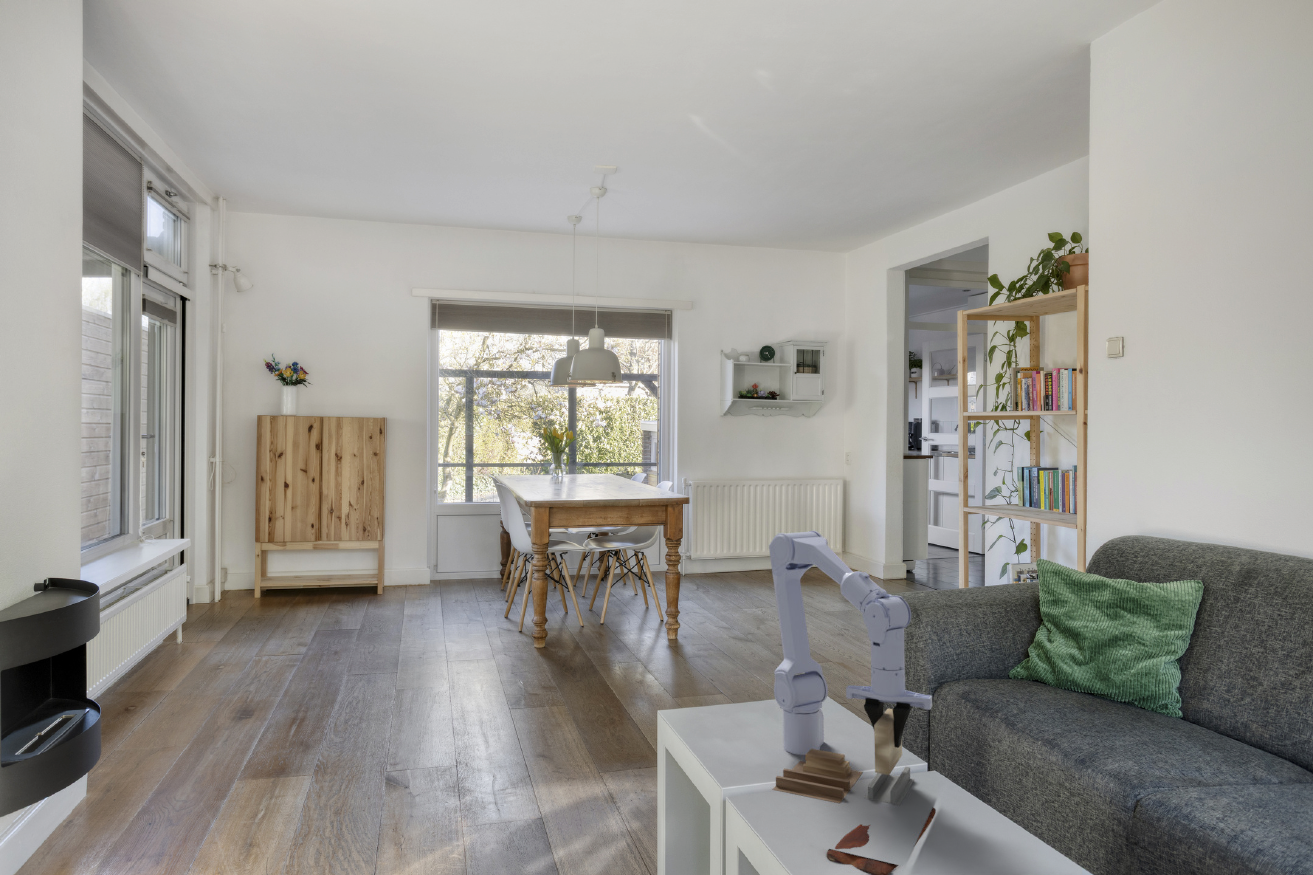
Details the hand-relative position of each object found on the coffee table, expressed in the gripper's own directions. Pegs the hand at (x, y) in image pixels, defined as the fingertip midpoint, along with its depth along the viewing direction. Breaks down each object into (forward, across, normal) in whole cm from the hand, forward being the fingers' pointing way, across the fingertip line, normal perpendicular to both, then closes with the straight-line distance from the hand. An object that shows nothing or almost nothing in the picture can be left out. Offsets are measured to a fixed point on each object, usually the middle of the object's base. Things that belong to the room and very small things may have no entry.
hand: (889, 744), depth 141 cm
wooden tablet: (+10, -3, +15) cm, 18 cm away
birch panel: (+3, 0, 0) cm, 3 cm away
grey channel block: (+9, 0, 0) cm, 9 cm away
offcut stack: (+8, +12, -2) cm, 14 cm away
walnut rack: (+9, +12, +2) cm, 15 cm away
